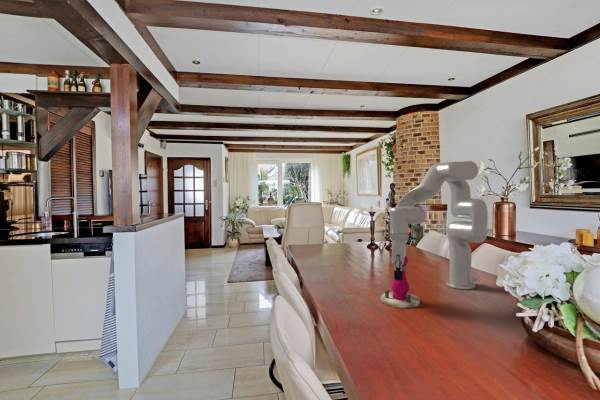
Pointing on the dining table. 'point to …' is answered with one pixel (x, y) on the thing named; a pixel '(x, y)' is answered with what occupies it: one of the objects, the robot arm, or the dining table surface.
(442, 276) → the dining table surface
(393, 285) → the pepper mill
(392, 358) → the dining table surface
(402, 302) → the dowel board
